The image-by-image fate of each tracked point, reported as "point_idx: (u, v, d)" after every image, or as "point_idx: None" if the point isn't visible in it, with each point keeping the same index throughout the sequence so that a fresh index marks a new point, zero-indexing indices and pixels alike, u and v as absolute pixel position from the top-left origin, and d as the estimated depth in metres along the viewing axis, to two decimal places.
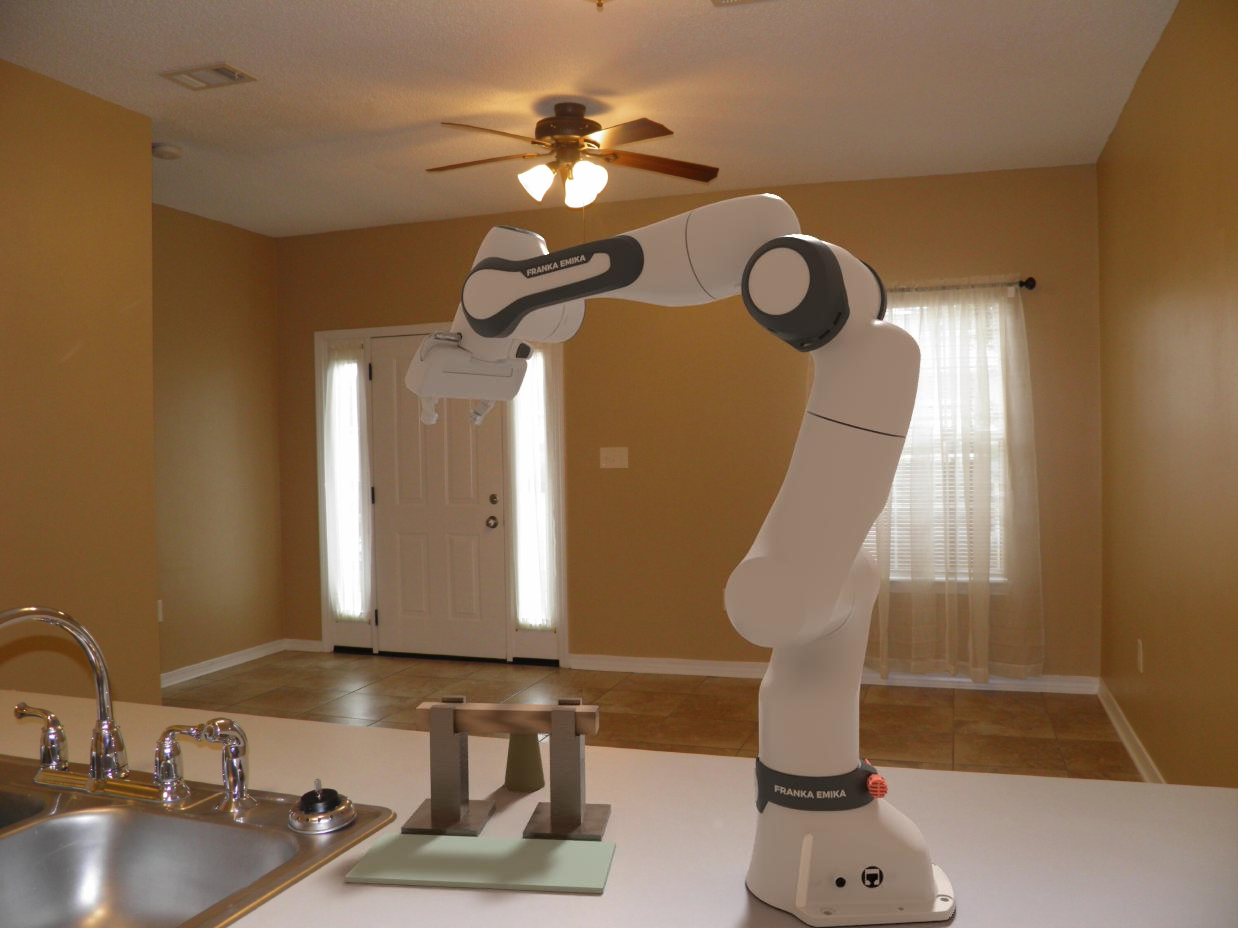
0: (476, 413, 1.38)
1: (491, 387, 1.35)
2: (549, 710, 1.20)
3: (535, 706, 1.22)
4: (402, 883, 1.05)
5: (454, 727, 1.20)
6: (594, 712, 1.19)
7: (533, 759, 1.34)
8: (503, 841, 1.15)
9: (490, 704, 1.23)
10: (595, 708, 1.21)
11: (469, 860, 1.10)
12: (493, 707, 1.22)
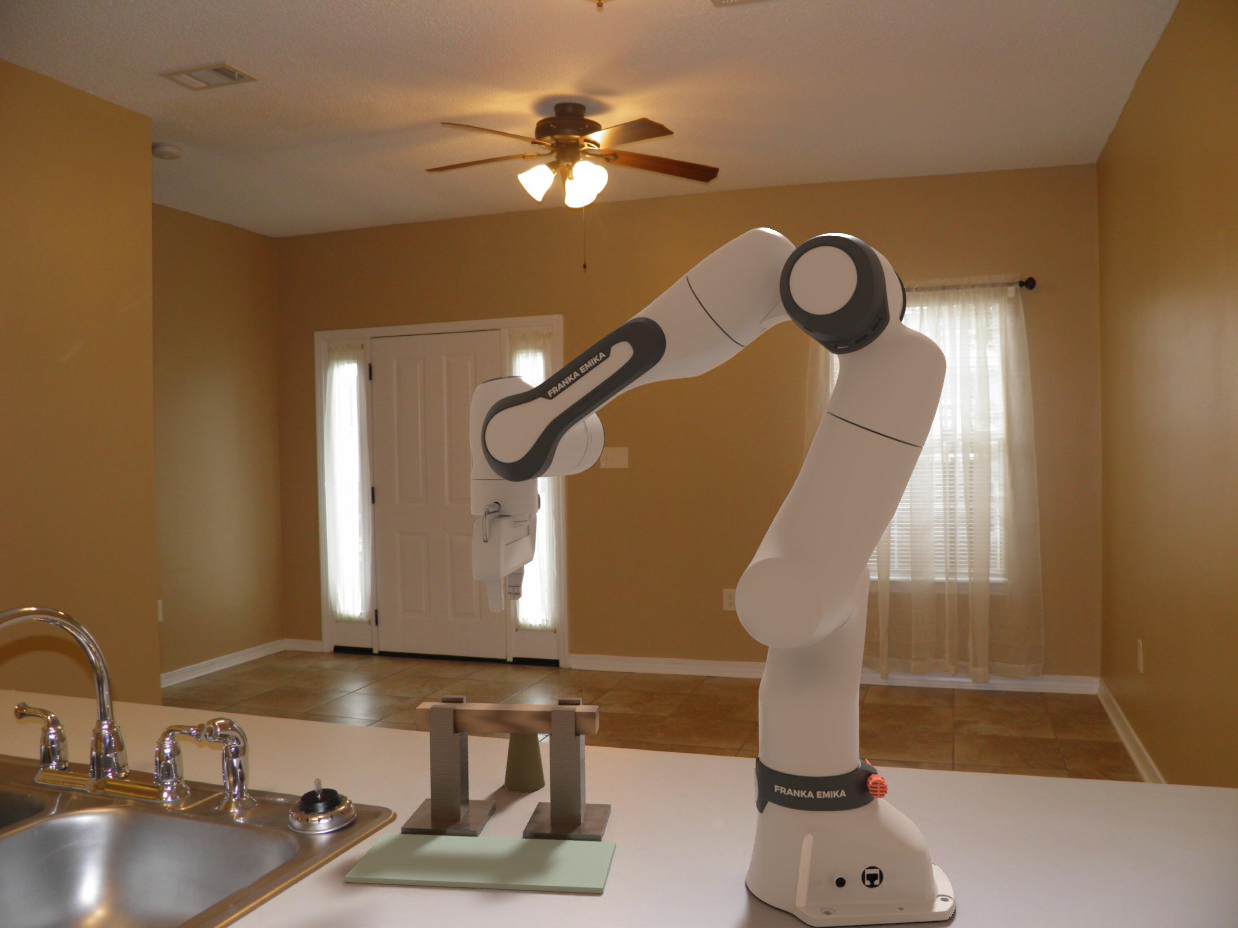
0: (514, 586, 1.26)
1: (524, 550, 1.25)
2: (549, 710, 1.20)
3: (535, 706, 1.22)
4: (402, 883, 1.05)
5: (454, 727, 1.20)
6: (594, 712, 1.19)
7: (533, 759, 1.34)
8: (503, 841, 1.15)
9: (490, 704, 1.23)
10: (595, 708, 1.21)
11: (469, 860, 1.10)
12: (493, 707, 1.22)
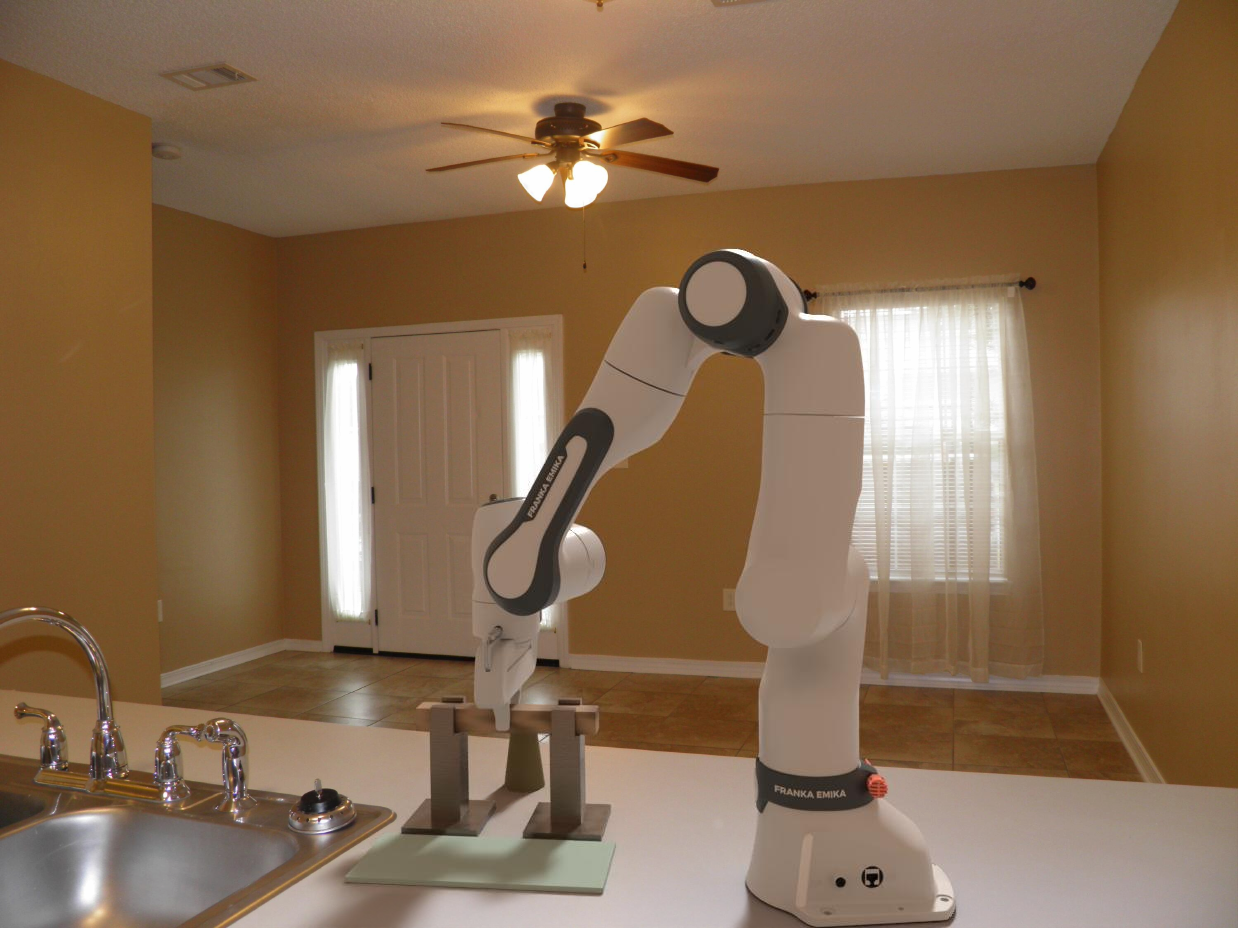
0: None
1: (526, 666, 1.25)
2: (549, 710, 1.20)
3: (535, 706, 1.22)
4: (402, 883, 1.05)
5: (454, 727, 1.20)
6: (594, 712, 1.19)
7: (533, 759, 1.34)
8: (503, 841, 1.15)
9: None
10: (595, 708, 1.21)
11: (469, 860, 1.10)
12: None
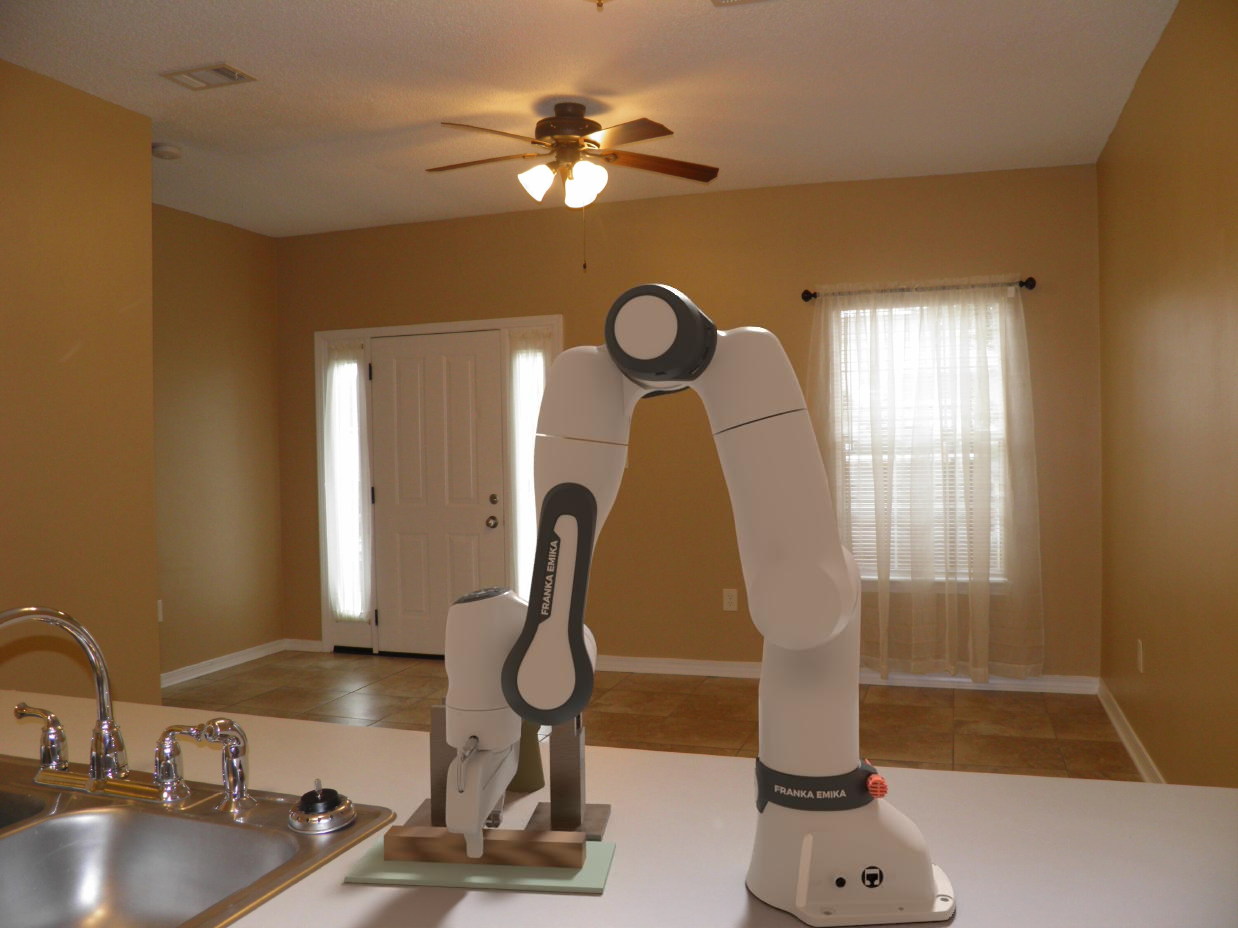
0: (494, 812, 1.14)
1: (506, 772, 1.14)
2: (531, 840, 1.08)
3: (516, 833, 1.10)
4: (402, 883, 1.05)
5: None
6: (580, 843, 1.07)
7: (533, 759, 1.34)
8: None
9: None
10: (582, 837, 1.09)
11: None
12: None
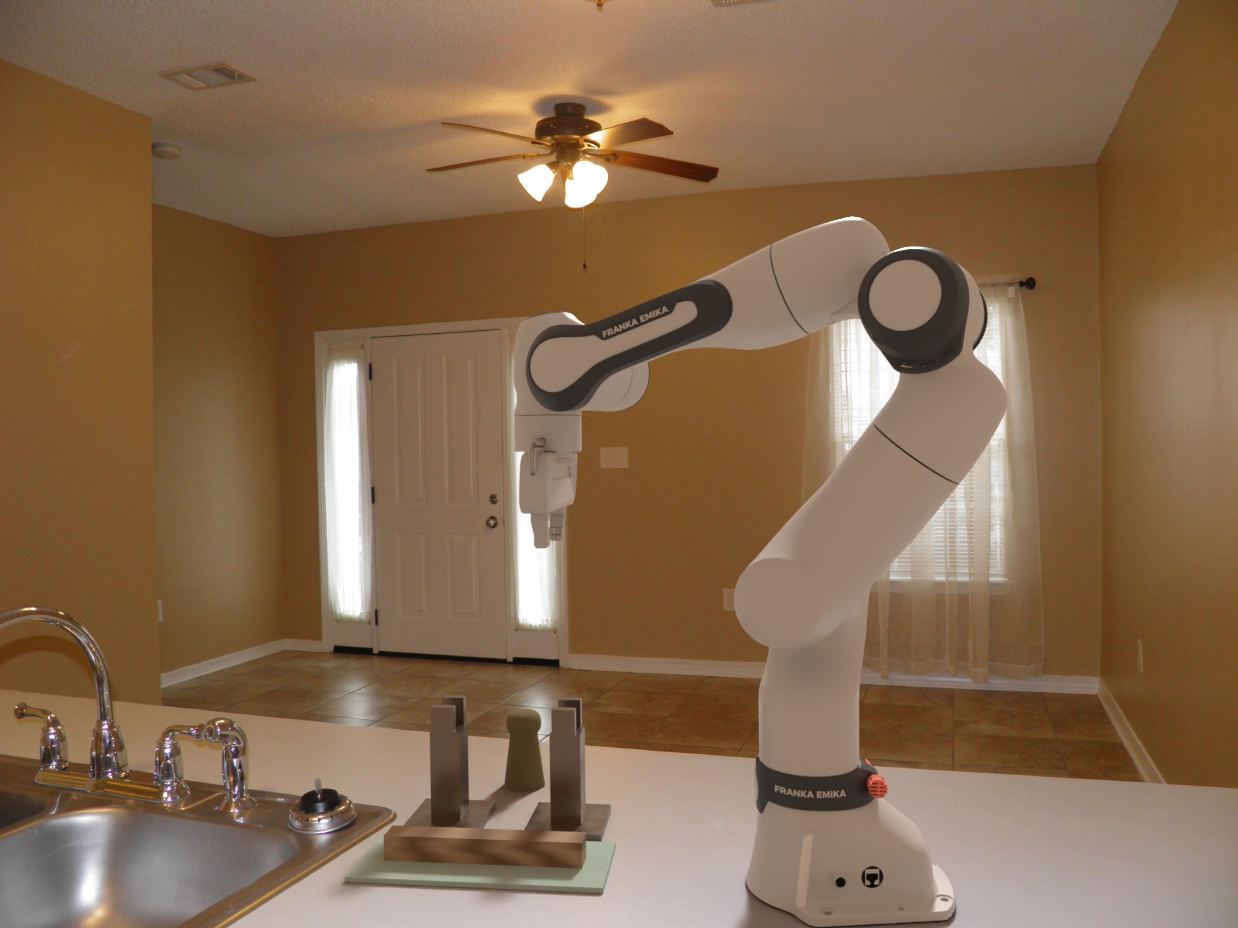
0: (556, 527, 1.25)
1: (567, 490, 1.24)
2: (531, 840, 1.08)
3: (516, 833, 1.10)
4: (402, 883, 1.05)
5: (454, 727, 1.20)
6: (580, 843, 1.07)
7: (533, 759, 1.34)
8: None
9: (466, 829, 1.12)
10: (582, 837, 1.09)
11: None
12: (469, 834, 1.10)
